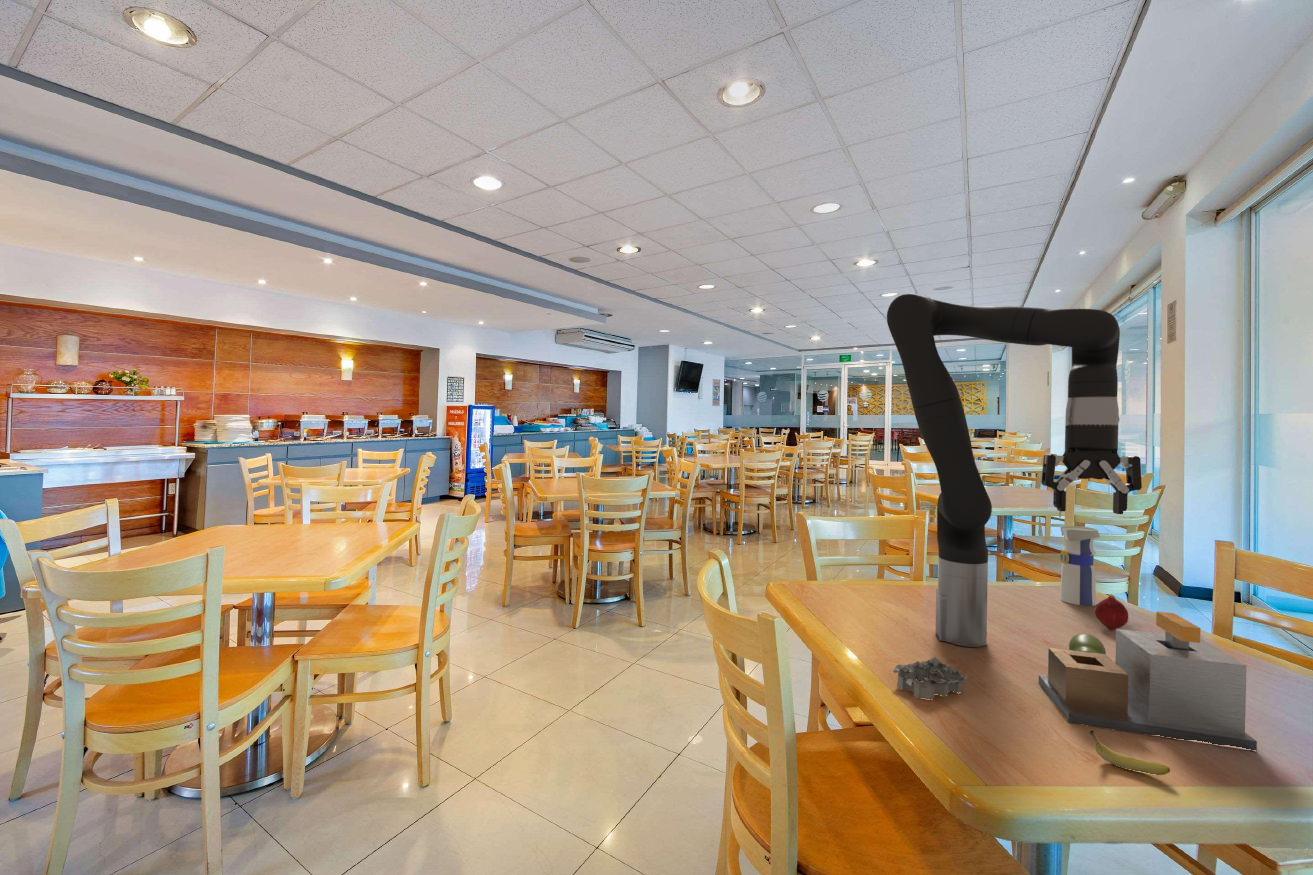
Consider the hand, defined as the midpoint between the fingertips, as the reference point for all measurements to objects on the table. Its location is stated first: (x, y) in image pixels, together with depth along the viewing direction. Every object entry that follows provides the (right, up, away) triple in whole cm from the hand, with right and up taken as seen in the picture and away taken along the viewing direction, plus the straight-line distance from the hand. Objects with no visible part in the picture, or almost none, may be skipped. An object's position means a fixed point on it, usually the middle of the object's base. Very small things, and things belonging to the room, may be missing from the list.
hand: (1088, 512), depth 99 cm
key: (+2, -23, -15) cm, 27 cm away
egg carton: (-31, -30, -4) cm, 44 cm away
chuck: (-3, -30, -12) cm, 33 cm away
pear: (+4, -30, +5) cm, 31 cm away
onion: (+24, -30, +24) cm, 45 cm away
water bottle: (+32, -30, +44) cm, 62 cm away
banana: (-16, -31, -27) cm, 44 cm away
